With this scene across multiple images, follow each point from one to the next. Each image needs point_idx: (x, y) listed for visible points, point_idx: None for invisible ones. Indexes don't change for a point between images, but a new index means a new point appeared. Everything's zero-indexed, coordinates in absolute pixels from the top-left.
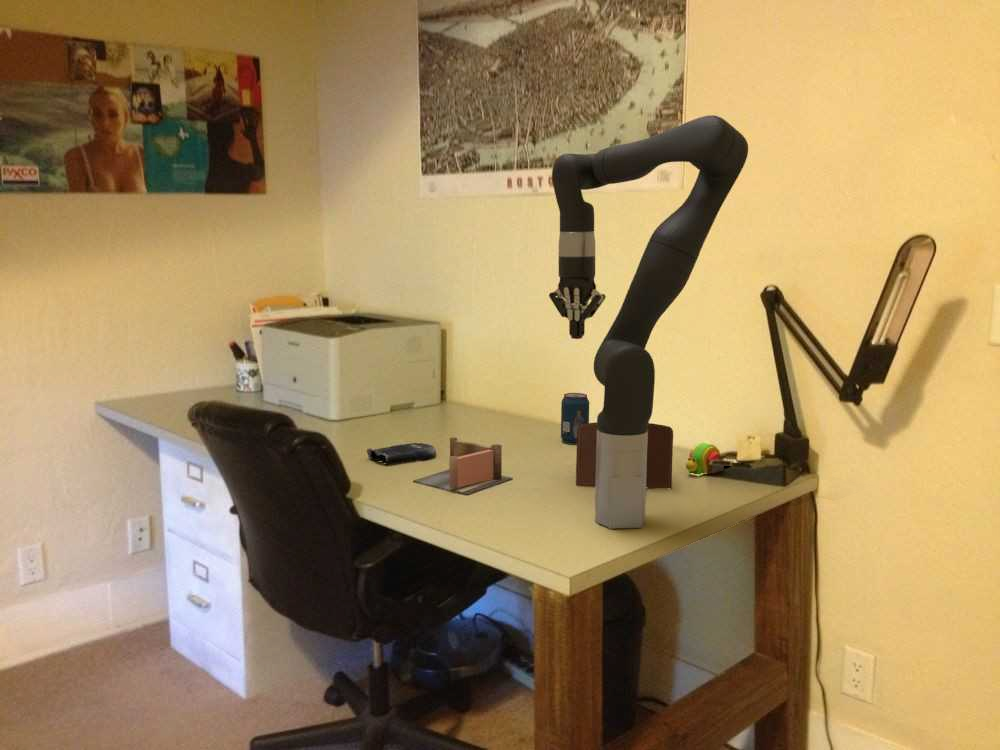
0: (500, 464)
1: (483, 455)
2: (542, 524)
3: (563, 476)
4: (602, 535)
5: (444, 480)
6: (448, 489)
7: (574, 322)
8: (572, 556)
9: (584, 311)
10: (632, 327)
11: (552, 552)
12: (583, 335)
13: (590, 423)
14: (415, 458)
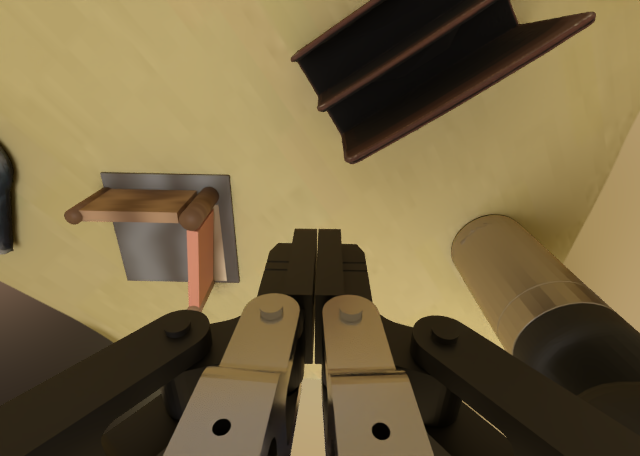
0: (211, 205)
1: (200, 252)
2: (400, 311)
3: (287, 95)
4: None
5: (159, 254)
6: None
7: (318, 355)
8: None
9: (439, 454)
10: None
11: None
12: (357, 247)
13: (378, 150)
14: (9, 194)
